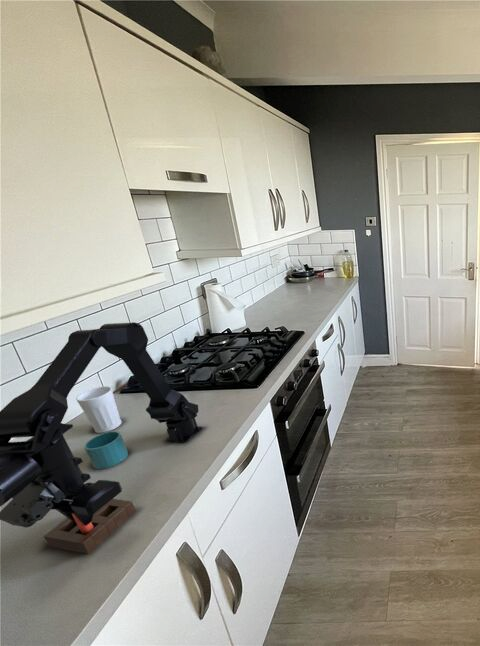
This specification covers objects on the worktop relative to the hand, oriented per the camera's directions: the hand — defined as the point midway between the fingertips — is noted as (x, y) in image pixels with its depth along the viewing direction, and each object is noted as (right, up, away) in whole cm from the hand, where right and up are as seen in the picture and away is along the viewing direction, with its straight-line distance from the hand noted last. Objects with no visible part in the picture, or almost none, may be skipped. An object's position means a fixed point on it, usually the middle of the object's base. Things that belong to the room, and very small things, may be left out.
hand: (84, 522), depth 71 cm
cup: (-30, +8, +37) cm, 49 cm away
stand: (-2, -3, +4) cm, 5 cm away
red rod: (0, -4, +2) cm, 4 cm away
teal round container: (-16, +4, +24) cm, 29 cm away
